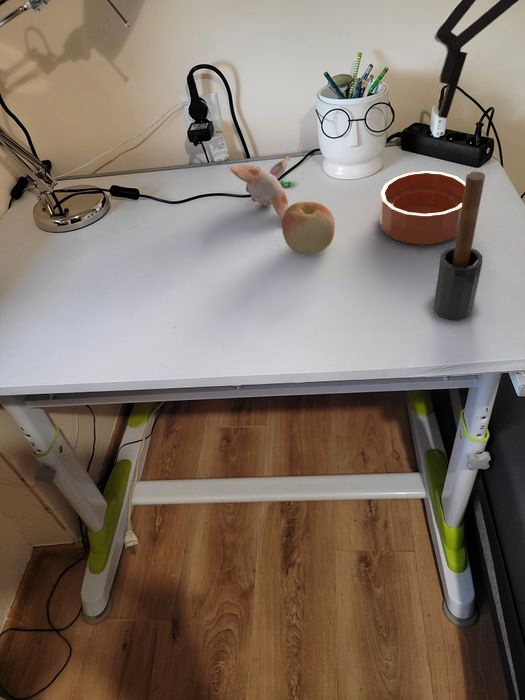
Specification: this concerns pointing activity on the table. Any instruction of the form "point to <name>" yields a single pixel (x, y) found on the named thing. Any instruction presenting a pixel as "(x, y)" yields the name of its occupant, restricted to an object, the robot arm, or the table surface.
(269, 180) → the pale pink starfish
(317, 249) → the apple
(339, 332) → the table surface
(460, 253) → the stick
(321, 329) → the table surface
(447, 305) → the utensil pot
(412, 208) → the bowl
